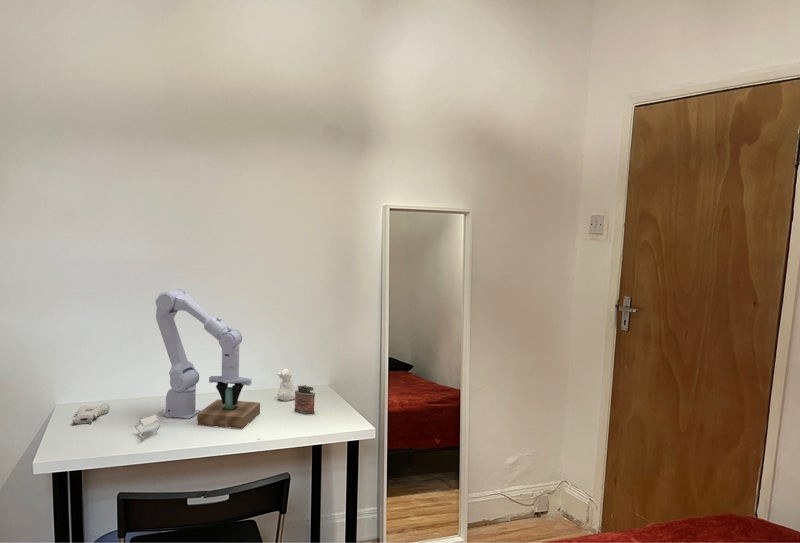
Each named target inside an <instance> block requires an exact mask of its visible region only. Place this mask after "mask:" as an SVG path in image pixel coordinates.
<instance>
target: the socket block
mask: <svg viewBox="0 0 800 543" xmlns="http://www.w3.org/2000/svg"><path fill="white" fill-rule="evenodd" d="M258 414H259V415H260V414H261V402H255V401H241V400H238V402H237V404H236V405H235V410H234V411H233V410H225V404H222V399H221V398H220V399H216V400H215V401H213V402H212V403H210V404H209V405H207V406H205V407H204V408H203V409H202V410H200V412H198V413H197V414H196V417H197V419H196V420H197V421H196V422H197V423H196V425H197V426H202V425H204V427H214V426H218V427H217V428H226V427H231V428H230V429H238V428H244V427H245V426H246V425H247V424H248V423H249V424H250V423H251V422H252V421H253V420H255V419H256V418H257V417H258V416H259V415H258ZM257 415H258V416H257ZM256 416H257V417H256ZM255 417H256V418H255ZM249 424H248V425H249ZM248 425H247V426H248ZM247 426H246V427H247ZM246 427H245V428H246ZM245 428H244V429H245Z"/></svg>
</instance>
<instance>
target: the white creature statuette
mask: <svg viewBox="0 0 800 543" xmlns="http://www.w3.org/2000/svg"><path fill="white" fill-rule="evenodd" d="M276 375H277V376H279V378H280V379H281V380H282V381H281V382H280V384H279V388H278V392H277V394H276V396H277V399H278V400H279V399H280V401H281V400H283V401H282V402H288V400H290V401H294V400H295V391H293V387H294V384H293V382H292V380H291V379H292V376H293V375H292V373H291V371H290V370H289V369H288V368H284V369H282V370H280V371H277V374H276ZM293 399H294V400H293Z"/></svg>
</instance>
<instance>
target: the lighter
mask: <svg viewBox="0 0 800 543" xmlns="http://www.w3.org/2000/svg"><path fill="white" fill-rule="evenodd" d="M313 391H314V387H313V386H310V385H309V386H308V385H306V384H304V385H300V384H299V385H297V390H295V391H294V392H295V399H294V409H293V411H295V412H294V413H297V412H298V413H297V414H301V413H303V415H307V414H313V415H315V412H316V411H315V398H316V393H315V392H313Z"/></svg>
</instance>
